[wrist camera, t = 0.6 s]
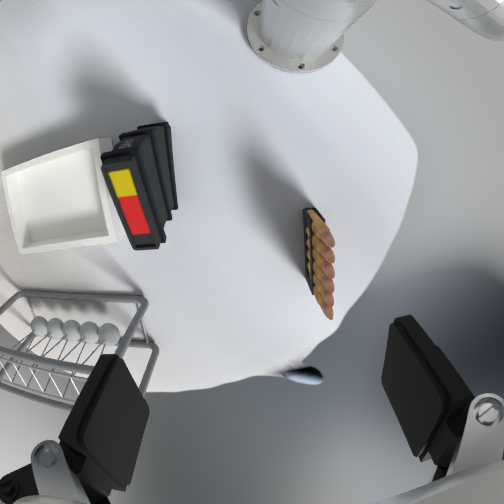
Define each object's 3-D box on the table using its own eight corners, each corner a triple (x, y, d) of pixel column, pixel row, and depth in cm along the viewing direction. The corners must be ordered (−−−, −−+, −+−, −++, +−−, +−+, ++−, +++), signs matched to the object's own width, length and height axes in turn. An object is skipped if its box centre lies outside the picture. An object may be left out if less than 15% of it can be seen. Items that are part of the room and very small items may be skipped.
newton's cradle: (35, 332, 48) (-7, 386, 31) (19, 288, 44) (-34, 339, 27) (162, 346, 48) (135, 426, 32) (151, 294, 44) (111, 373, 28)
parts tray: (16, 167, 35) (1, 171, 32) (111, 137, 35) (98, 137, 31) (32, 245, 41) (19, 254, 37) (127, 232, 40) (116, 242, 36)
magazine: (168, 99, 32) (133, 156, 22) (184, 183, 42) (167, 261, 32) (140, 104, 32) (95, 163, 22) (160, 186, 42) (136, 263, 32)
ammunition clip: (302, 208, 39) (324, 238, 28) (316, 207, 39) (342, 236, 28) (305, 279, 43) (323, 327, 32) (317, 277, 43) (339, 324, 32)
